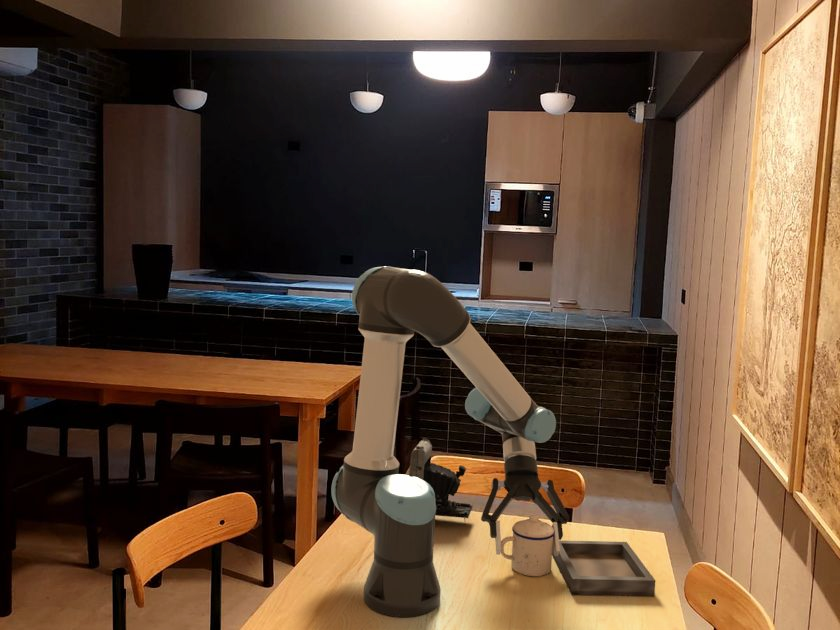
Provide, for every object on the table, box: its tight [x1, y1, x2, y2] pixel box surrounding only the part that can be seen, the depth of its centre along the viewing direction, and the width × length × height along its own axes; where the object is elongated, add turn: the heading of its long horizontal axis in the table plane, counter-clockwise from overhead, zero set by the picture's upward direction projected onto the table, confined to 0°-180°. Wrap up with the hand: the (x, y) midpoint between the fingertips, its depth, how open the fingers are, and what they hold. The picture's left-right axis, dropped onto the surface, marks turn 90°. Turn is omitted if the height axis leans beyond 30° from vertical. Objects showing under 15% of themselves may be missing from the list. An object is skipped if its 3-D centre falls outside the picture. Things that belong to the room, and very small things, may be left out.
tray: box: [552, 539, 656, 598], centre depth 163 cm, size 17×19×4 cm
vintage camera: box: [408, 438, 474, 521], centre depth 188 cm, size 10×16×20 cm, turn 78°
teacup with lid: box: [500, 514, 554, 577], centre depth 164 cm, size 12×9×12 cm
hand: (528, 553), depth 161 cm, fingers closed on teacup with lid, 12 cm apart
